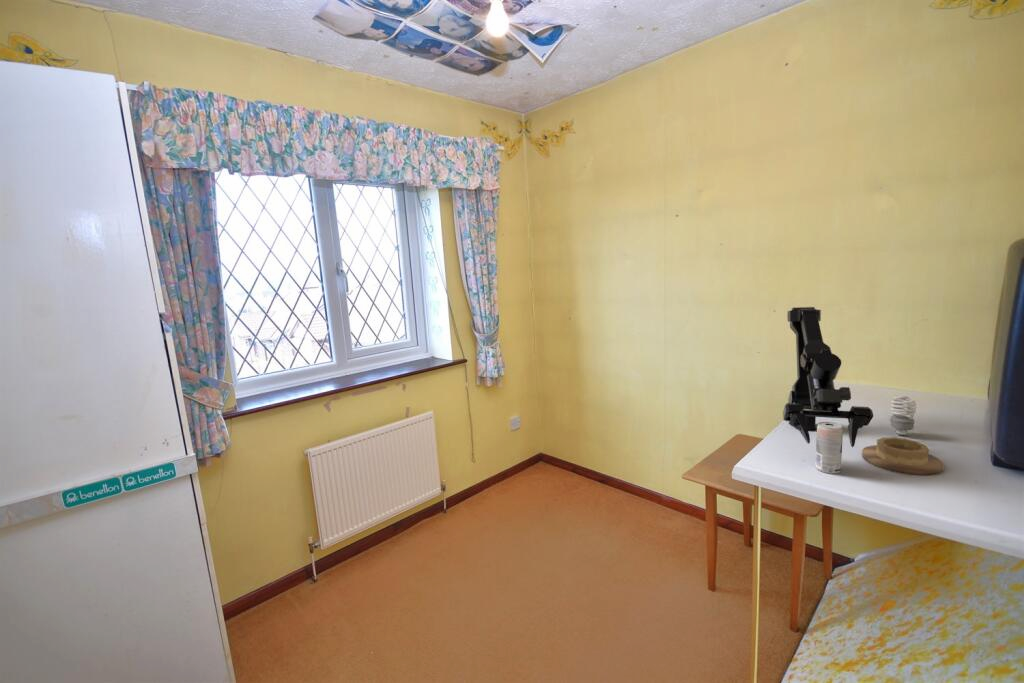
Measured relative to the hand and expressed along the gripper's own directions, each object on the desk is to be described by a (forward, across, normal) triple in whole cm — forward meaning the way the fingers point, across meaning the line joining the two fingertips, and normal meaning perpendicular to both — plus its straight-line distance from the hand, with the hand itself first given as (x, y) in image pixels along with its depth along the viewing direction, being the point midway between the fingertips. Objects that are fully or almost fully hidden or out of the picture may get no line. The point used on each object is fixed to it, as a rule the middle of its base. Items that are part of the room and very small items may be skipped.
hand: (830, 444), depth 111 cm
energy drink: (+4, 0, +6) cm, 8 cm away
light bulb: (-17, +24, +27) cm, 40 cm away
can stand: (-3, +18, +13) cm, 22 cm away
